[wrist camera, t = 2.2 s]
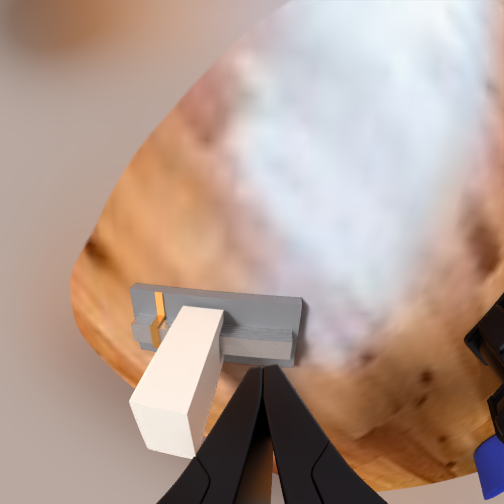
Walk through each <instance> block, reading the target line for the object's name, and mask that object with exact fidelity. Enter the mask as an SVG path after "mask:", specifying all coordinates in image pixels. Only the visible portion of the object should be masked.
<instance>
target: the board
mask: <svg viewBox="0 0 504 504" xmlns="http://www.w3.org/2000/svg"><path fill="white" fill-rule="evenodd" d="M130 292H131V299H132V305H133V310H134V316H135V318H136V317H137V316H138V314H139V313H140V314H146V315H153V316H157V315H162V316H165V317H167V318H175V319H176V317H177V315H178V313H179V312H180V310H181V308H182V307H183V306H190V307H199V308H209V309H219V310H223V315H224V322H223V324H227V325H237V326H249V327H261V328H274V329H290V330H292V348H291V356H290V360H285V359H270V358H257V357H246V356H236V355H226V354H224V362H230V363H240V364H250V365H262V366H266V365H272V364H278V365H279V366H280V367H293V365H294V359H295V352H296V346H297V339H298V332H299V325H300V317H301V310H302V298H299V297H283V296H268V295H255V294H242V293H230V292H219V291H208V290H197V289H187V288H177V287H167V286H158V285H149V284H141V283H135V284H134V285H133V286H132V287H131V288H130ZM140 346H141V349H143V350H149V351H154V352H157V350H158V349H157V348H153V344H150V343H144V342H140Z"/></svg>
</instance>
